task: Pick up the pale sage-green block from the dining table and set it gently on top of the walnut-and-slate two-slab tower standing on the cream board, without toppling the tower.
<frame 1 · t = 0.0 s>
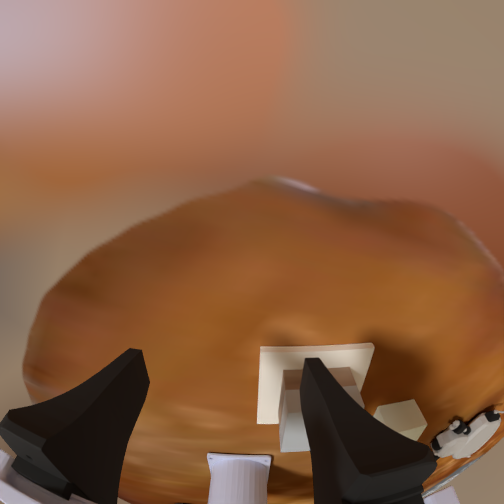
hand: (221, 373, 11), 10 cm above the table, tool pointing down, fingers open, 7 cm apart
cream board: (311, 386, 24), on the table
sage block: (389, 415, 27), on the table
walnut slab: (312, 391, 24), point 1 cm above the table, touching cream board, slate slab
slate slab: (316, 411, 21), point 3 cm above the table, touching walnut slab
robot toy: (458, 428, 30), on the table
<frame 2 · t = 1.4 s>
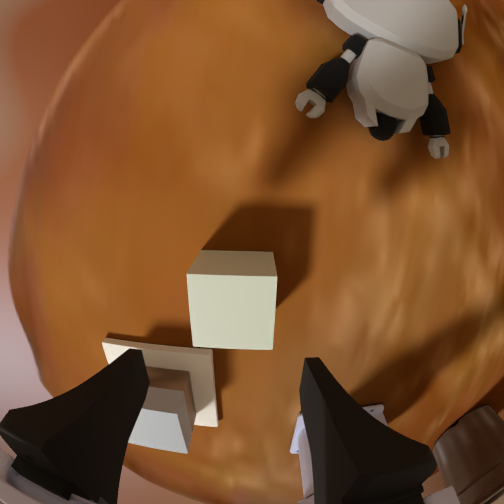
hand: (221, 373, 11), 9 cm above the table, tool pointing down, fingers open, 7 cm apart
plant pot: (462, 428, 29), on the table
cream board: (163, 385, 24), on the table
sage block: (236, 283, 21), on the table
walnut slab: (161, 390, 23), point 1 cm above the table, touching cream board, slate slab
slate slab: (154, 409, 21), point 3 cm above the table, touching walnut slab
robot toy: (378, 51, 15), on the table
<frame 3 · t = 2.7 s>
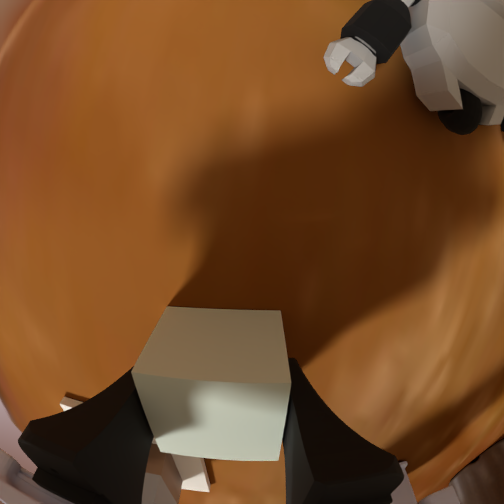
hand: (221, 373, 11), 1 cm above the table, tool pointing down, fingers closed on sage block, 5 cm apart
plant pot: (480, 460, 21), on the table
cream board: (140, 450, 16), on the table
sage block: (224, 354, 13), on the table, touching gripper
walnut slab: (138, 458, 16), point 1 cm above the table, touching cream board, slate slab
slate slab: (130, 483, 13), point 3 cm above the table, touching walnut slab
robot toy: (431, 10, 8), on the table
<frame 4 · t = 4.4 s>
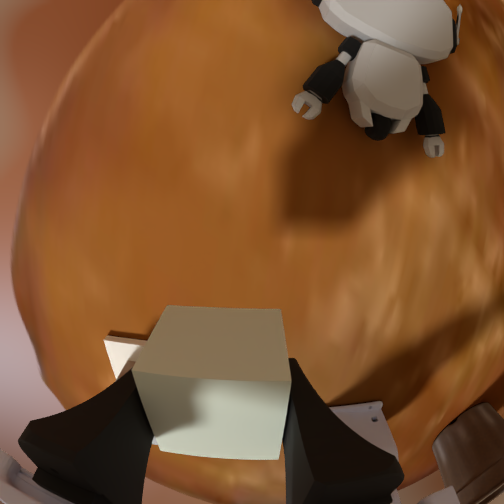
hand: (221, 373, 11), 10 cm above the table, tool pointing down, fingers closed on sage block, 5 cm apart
plant pot: (461, 426, 29), on the table
cream board: (164, 382, 24), on the table
sage block: (224, 352, 13), point 8 cm above the table, touching gripper
robot toy: (373, 52, 16), on the table
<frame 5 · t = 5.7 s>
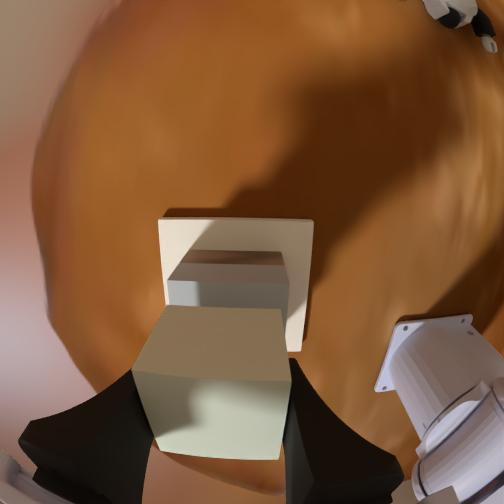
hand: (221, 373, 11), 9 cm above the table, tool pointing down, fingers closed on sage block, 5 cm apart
cream board: (235, 287, 20), on the table
sage block: (224, 352, 13), point 7 cm above the table, touching gripper
walnut slab: (234, 292, 19), point 1 cm above the table, touching cream board, slate slab
slate slab: (231, 310, 17), point 3 cm above the table, touching walnut slab
when the fingers open (8 cm above the table, at t = 6.3 s): sage block stays where it is, resting on slate slab.
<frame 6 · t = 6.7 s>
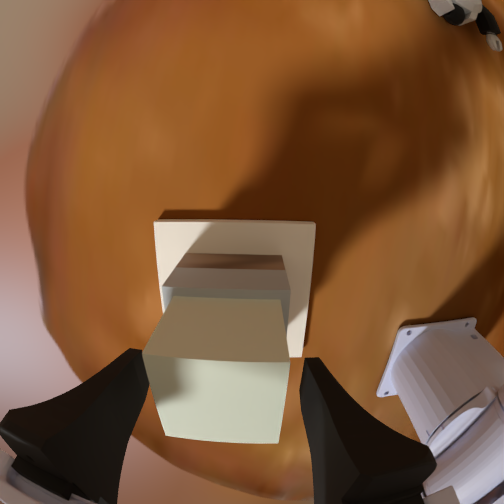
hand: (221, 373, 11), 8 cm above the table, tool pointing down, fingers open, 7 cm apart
cream board: (234, 292, 19), on the table
sage block: (227, 341, 14), point 6 cm above the table, touching slate slab
walnut slab: (233, 297, 19), point 1 cm above the table, touching cream board, slate slab
slate slab: (230, 317, 16), point 3 cm above the table, touching sage block, walnut slab
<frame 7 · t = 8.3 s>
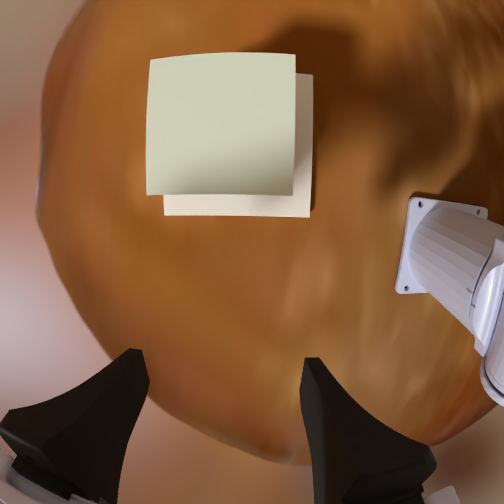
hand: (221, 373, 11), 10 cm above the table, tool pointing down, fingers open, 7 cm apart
cream board: (237, 142, 18), on the table
sage block: (230, 133, 13), point 6 cm above the table, touching slate slab
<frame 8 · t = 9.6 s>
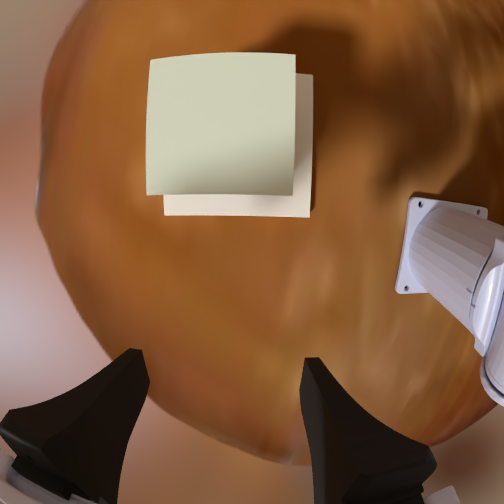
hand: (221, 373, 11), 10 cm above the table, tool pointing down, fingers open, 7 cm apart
cream board: (237, 142, 18), on the table
sage block: (230, 133, 13), point 6 cm above the table, touching slate slab
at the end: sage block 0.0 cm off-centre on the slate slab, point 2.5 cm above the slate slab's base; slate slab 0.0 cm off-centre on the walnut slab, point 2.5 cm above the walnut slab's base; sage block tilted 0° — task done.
